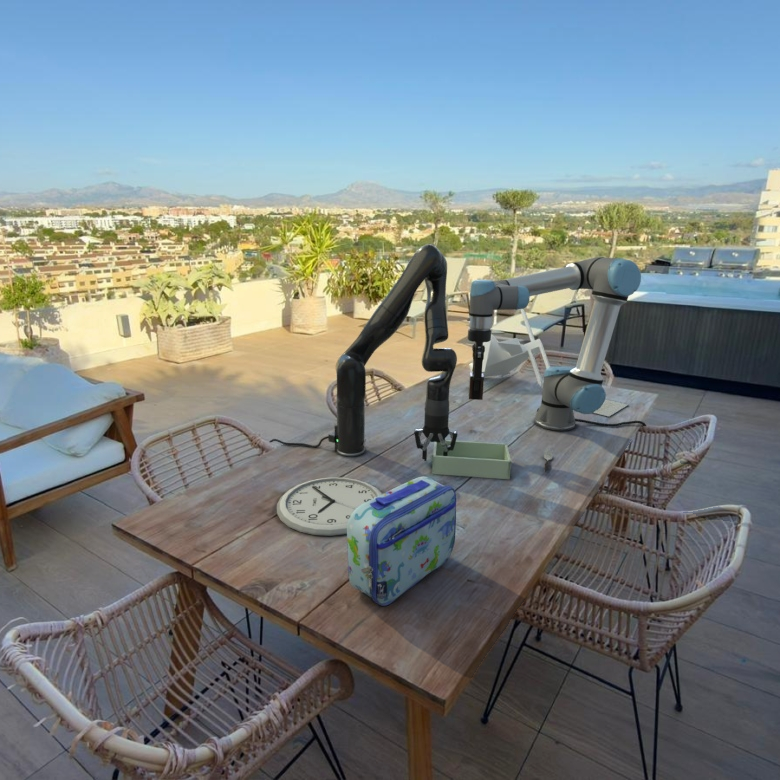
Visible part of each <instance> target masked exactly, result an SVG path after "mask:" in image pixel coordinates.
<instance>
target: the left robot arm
mask: <svg viewBox="0 0 780 780" xmlns="http://www.w3.org/2000/svg"><path fill="white" fill-rule="evenodd" d="M447 276H448V262H447V259H446V257H445V256H444V254H443V253H442V252H441V251H440V250H439V248H437V247H436V246H435V245H433V244H425V245H424V244H423V246H420V247H419V248H418V249H417V250H416V251H415V252H414V253H413V255H412V257H411V258H410V259H409V262H408V263H407V265H406V267H405V268H404V270H403V272H402V273H401V275H400V276H399V278H398V280H397V281H396V283H395V284H394V285H393V286H392V288H391V289H390V290H389V292H388V293H387V294H386V296H385V297H384V299H383V300H382V301H381V303H380V304H379V305H378V306H377V308H376V309H375V311H374V312H373V313H372V315H371V316H370V317H369V319H368V321H367V322H366V324H365V325H364V327H362V330H361V331H360V333H359V334H358V336H357V337H356V339H355V340H354V341H353V342H352V343H351V344H350V345H349V347H348V348H347V349H346V350H344V352H343V353H342V354H341V355H340V357H339V358H338V359H337V361H336V363H335V372H336V398H335V399H336V423H335V424H334V427H333V428H334V429H333V430H334V431H333V432H331V433H329V434H328V435H326V436H324V437H322V438H321V439H320V441H319V442H318V444H316V445H312V444H307V443H301V442H285V441H282V440H280V439H278V438H273V439H271V440H269V443H273V442H277V443H280V444H282V445H285V446H286V445H287V446H303V447H308V448H313V449H315V448H319V447H321V445H322V442H323V441H324V440H327V441H328V442H330V443H332V444H334V452H337V454H338V455H340V456H343V457H358V456H361V455H363V454H364V453H365V452H366V447H365V444H366V440H367V438H366V437H365V434H366V433H365V425H366V424H365V418H366V417H365V415H366V414H365V413H366V411H365V409H366V407H365V404H366V401H365V399H366V392H367V391H366V389H367V388H366V387H367V378H366V377H367V372H366V365H367V363H368V362H369V360H370V358H371V357H372V355H373V354H374V353H375V351H377V349H379V347H381V346H382V345H383V344H384V343H386V342H387V341H388V340H389V339H391V338H392V336H393V335H394V334H395V333H396V332H397V331H398V330H399V328H400V327H401V325H402V324H403V323H404V321H405V320H406V319H407V317H408V315H409V312H410V310H411V306H412V304H413V300H414V296H415V294H416V292H417V291H418V289H419V287H420V286H421V285H422V283H423V282H424V283H425V288H426V302H425V307H424V315H423V321H424V323H423V324H424V333H425V339H424V346H423V350H422V351H423V352H422V355H421V367H422V368H423V369H424V371H426V372H428V373H429V372H430V373H435V372H441V373H440V374H439V375H437V376H433V377H431V378H429V379H428V380H427V381H426V389H425V390H426V391H425V393H426V394H425V403H424V421H423V422H424V423H423V427H422V428H414V432H413V433H414V439H415V445H416V448H417V449H418V450H419V449H420V450H421V451H422V454H421V458H422V460H423V461H424V462H427V460H428V447H429V444H430V443H434V442H438V443H440V442H441V445H442V447H443V456H448V451H450V450H451V451H452V450H453V449H454V446H455V442H456V441H457V438H458V430H454V431H453V430H450V428H449V418H450V388H451V387H450V386H451V381H452V378H453V375H454V373H455V369H456V367H457V363H458V357H457V356H458V355H457V353H456V351H455V350H454V349H453V348H449V347H440V348H436V347H435V348H434V346H435V345H436V344H439V343H444V342H446V341H448V339H449V325H448V314H447V299H446V297H447ZM422 434H423V435H424V436H425V440H424V442H423V443H422V442H421V436H422ZM448 436H449V437H450V439H451V443H450V445H448V446H447V443H446V440H447V439H446V438H447V437H448ZM365 438H366V439H365Z"/></svg>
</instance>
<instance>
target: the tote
mask: <svg viewBox="0 0 780 780" xmlns="http://www.w3.org/2000/svg"><path fill="white" fill-rule="evenodd" d="M445 440H446V443H447V446H448V445H450V443H451V440H452V439H451V440H450V439H445ZM509 451H510V450H509V446H508V443H499V442H483V441H467V440H456V442H455V446H454V449H453V450H452V451H451V450H450V451H448V456H443V447H442V445H441V442H440V443H438V442H433V451H432V469H431V470H432V471H431V473H432V475H441V476H455V477H456V476H457V477H469V478H484V479H485V478H486V479H500V480H501V479H502V480H510V479H511V470H512V460H511V459H512V458H511V455H510V452H509Z"/></svg>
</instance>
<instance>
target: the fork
mask: <svg viewBox="0 0 780 780" xmlns="http://www.w3.org/2000/svg"><path fill="white" fill-rule="evenodd" d="M553 451H554V450H553V448H552V451H551V449H549V451H547V450H545V452H544V455H543V459H545V460H546V461H545V463H544V473H547V470H548V468H549V461H551V460H553Z"/></svg>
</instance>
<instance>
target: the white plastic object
mask: <svg viewBox="0 0 780 780" xmlns="http://www.w3.org/2000/svg"><path fill="white" fill-rule="evenodd" d="M519 310H520V314H521V316H522V319H523V323H524V326H525V328H526V331H527V334H528V337H529V340H530V341H529V342H527V343H525V344H524V343H521V342H520V341H519V338H518V337H515V338H510V339H506V340H502V341H499V340H498V339H497V338H496V336H494V334H492V333H491V340H490V341H489V342H483V345H484V346H485V352H484V359H483V363H482V373H483V374H484V378H487V377H494V376H495V377H497V376H501V377H504V376H507V375H510V374H511V371H513V370H514V369H516V368H517V367H519V366H520V365H522V364H523V363H524V362H526V361H527V360H530V363H531V366H532V369H533V371H534V374H535V377H536V378H535V379H536V380H537V383H538V386H539V387H540V388H541V389H542V390H543V382H544V380H543V378H542V375H541V372H540V370H539V366H538V364H537V360H536V358H535V355H538V354H540V353H541V356H542V359H543V363H544V365H545V368H546V369H547V368H549V367H551V363H550V361H549V359H548V355H547V353H546V350H545V348H544V344H543V341H541V338H536V339H535V336H534V333H533V330H532V328H531V325H530V321H529V317H528V315H527V312H526V310H525V308H524V309H519ZM468 366H469V370H470V373H473V372H472V369H473V362H470V363H469V364H468Z"/></svg>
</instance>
